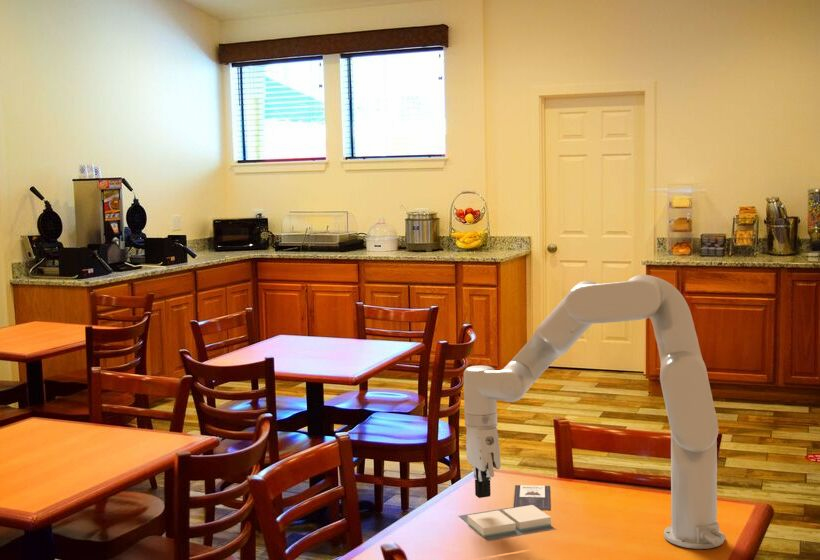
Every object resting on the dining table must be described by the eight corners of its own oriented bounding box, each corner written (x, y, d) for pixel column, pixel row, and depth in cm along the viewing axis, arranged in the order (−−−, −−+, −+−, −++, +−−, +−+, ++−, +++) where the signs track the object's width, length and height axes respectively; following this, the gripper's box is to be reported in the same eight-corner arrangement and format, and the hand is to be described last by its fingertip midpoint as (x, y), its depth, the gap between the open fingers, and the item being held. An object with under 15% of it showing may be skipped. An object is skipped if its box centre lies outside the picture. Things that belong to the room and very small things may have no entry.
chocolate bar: (513, 509, 214) (515, 485, 232) (513, 512, 214) (515, 488, 232) (550, 509, 213) (549, 485, 231) (550, 513, 213) (550, 489, 231)
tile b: (498, 518, 209) (515, 531, 200) (467, 523, 206) (483, 537, 197) (498, 510, 208) (515, 523, 200) (467, 515, 206) (483, 528, 197)
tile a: (532, 512, 212) (551, 525, 203) (502, 517, 209) (519, 530, 200) (532, 504, 211) (550, 517, 203) (502, 509, 209) (519, 522, 200)
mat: (556, 530, 201) (556, 528, 201) (488, 542, 195) (488, 540, 195) (522, 507, 217) (522, 505, 217) (458, 517, 211) (458, 515, 211)
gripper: (509, 424, 199) (511, 503, 201) (482, 410, 213) (484, 484, 215) (479, 428, 197) (481, 508, 198) (453, 414, 211) (456, 489, 212)
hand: (482, 496), depth 207 cm, fingers closed
